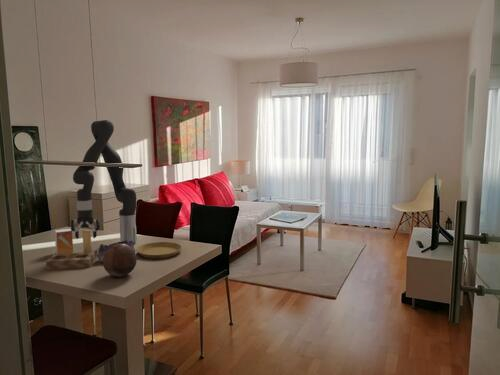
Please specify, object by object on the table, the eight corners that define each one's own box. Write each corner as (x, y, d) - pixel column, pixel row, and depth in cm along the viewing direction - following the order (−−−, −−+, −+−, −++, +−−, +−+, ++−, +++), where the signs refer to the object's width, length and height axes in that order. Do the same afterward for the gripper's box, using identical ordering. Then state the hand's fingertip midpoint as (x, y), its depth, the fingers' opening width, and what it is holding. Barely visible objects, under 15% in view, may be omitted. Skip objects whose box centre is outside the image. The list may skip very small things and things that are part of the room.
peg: (92, 254, 216) (91, 229, 214) (91, 257, 212) (89, 231, 210) (84, 255, 215) (83, 230, 213) (83, 257, 211) (81, 231, 209)
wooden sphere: (142, 271, 190) (141, 240, 188) (128, 282, 175) (126, 249, 173) (113, 269, 192) (112, 239, 190) (97, 280, 178) (95, 248, 176)
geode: (106, 265, 199) (103, 246, 198) (94, 264, 206) (91, 245, 205) (139, 254, 214) (137, 236, 213) (127, 253, 222) (124, 235, 221)
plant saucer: (188, 255, 215) (187, 249, 214) (144, 263, 202) (143, 256, 202) (172, 245, 235) (172, 239, 235) (132, 251, 223) (131, 245, 223)
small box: (57, 255, 214) (56, 232, 212) (55, 252, 219) (54, 230, 218) (73, 253, 218) (72, 230, 217) (71, 250, 224) (70, 228, 222)
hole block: (94, 259, 207) (94, 252, 207) (89, 267, 196) (89, 259, 195) (54, 261, 204) (53, 254, 203) (46, 269, 192) (45, 261, 192)
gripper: (100, 207, 215) (101, 236, 217) (72, 207, 212) (74, 236, 214) (97, 209, 207) (98, 239, 209) (68, 210, 205) (70, 240, 207)
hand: (86, 238), depth 212 cm, fingers open, 8 cm apart
